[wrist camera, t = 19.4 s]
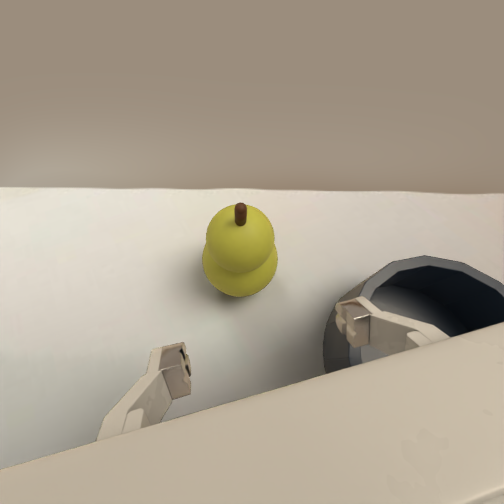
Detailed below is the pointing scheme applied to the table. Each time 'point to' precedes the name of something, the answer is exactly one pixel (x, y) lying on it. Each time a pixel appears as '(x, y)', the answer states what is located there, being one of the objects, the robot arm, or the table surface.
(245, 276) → the pear
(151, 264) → the table surface
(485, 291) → the pot
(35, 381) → the table surface
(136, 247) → the table surface
